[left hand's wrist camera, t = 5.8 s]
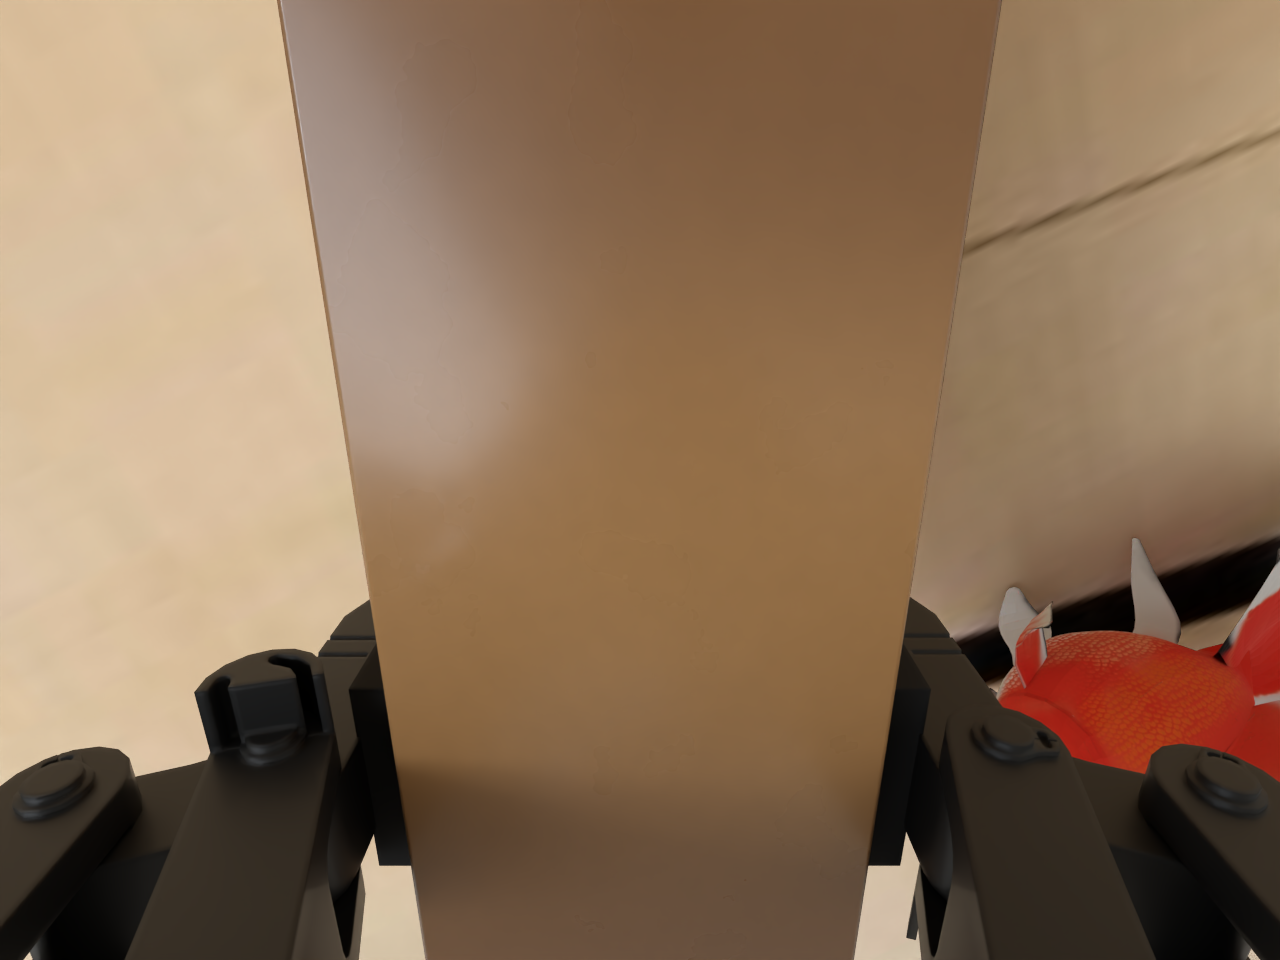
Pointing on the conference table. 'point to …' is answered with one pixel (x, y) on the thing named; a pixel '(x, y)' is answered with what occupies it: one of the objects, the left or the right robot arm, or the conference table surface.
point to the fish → (1149, 679)
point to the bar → (639, 438)
